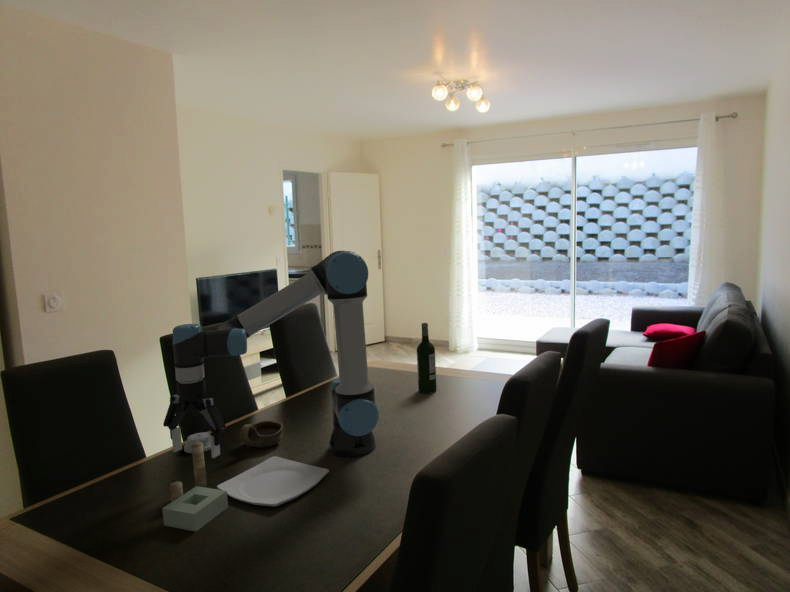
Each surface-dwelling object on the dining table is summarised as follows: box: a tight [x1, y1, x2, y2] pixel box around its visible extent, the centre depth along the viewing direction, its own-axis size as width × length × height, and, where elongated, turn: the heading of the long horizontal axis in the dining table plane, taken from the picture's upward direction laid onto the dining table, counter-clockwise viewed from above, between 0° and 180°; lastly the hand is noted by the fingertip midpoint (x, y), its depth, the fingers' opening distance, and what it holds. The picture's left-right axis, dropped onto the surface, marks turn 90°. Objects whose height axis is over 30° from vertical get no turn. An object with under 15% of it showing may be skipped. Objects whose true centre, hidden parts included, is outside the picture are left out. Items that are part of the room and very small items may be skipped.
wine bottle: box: [416, 322, 437, 394], centre depth 232 cm, size 8×8×30 cm
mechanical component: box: [183, 431, 211, 454], centre depth 182 cm, size 10×4×10 cm
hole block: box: [161, 486, 229, 532], centre depth 136 cm, size 10×12×4 cm
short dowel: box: [169, 481, 184, 502], centre depth 142 cm, size 3×3×6 cm
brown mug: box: [239, 419, 284, 448], centre depth 179 cm, size 14×18×10 cm
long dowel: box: [191, 442, 208, 488], centre depth 151 cm, size 3×3×13 cm
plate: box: [216, 455, 330, 508], centre depth 151 cm, size 24×24×3 cm
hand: (196, 453), depth 151 cm, fingers open, 13 cm apart
